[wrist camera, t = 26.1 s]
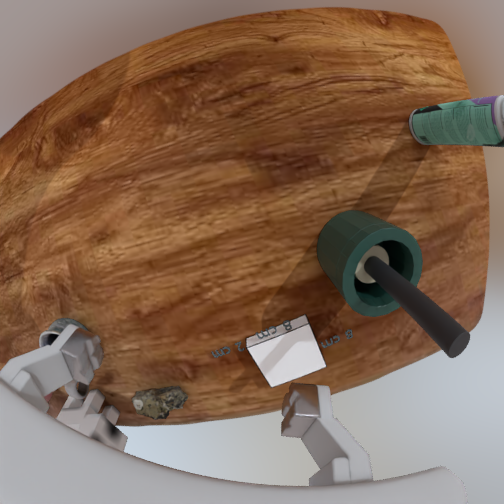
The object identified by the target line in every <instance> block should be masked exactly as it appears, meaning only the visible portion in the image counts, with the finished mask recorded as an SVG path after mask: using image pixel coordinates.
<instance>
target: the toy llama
mask: <svg viewBox="0 0 504 504" xmlns="http://www.w3.org/2000/svg"><path fill="white" fill-rule="evenodd" d="M104 399H105V396H104V395H103V394H102V393H101V392H100V391H99V390H98V389H95V390H90V392H89V394H88V396H87V397H86V399H85V401H84V400H83V399H75V398H73V397H71V396H70V395H69V397H68V399H67V401H66V402H65V404H64V406H63V408H62V409H61V411H60V413H59V415H58V417H57V418H56V419H57V420H58V421H60V422H62V423H64V424H65V425H67V426H69V427H71V428H73V429H75V430H76V431H78V432H80V433H82V434H84V435H86V436H88V437H90V438H92V439H95V440H97V441H99V442H101V443H103V444H106V445H108V446H110V447H113V448H115V449H117V450H120V451H122V452H124V448H125V445H126V442H127V439H128V437H127V436H125V435H124V434H123V433H122V432H121V431H120V430H119V429H118V428H117V427H115V424H116V422H117V419H118V417H119V414H120V412H119V411H118V410H117V409H116V408H115V407H114V406H113V405H110V406H105V407H104V410H103V412H102V413H100V414H98V412H99V410H100V408H101V405H102V403H103V401H104ZM83 401H84V403H83ZM82 403H83V405H82ZM81 405H82V407H81Z"/></svg>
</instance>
